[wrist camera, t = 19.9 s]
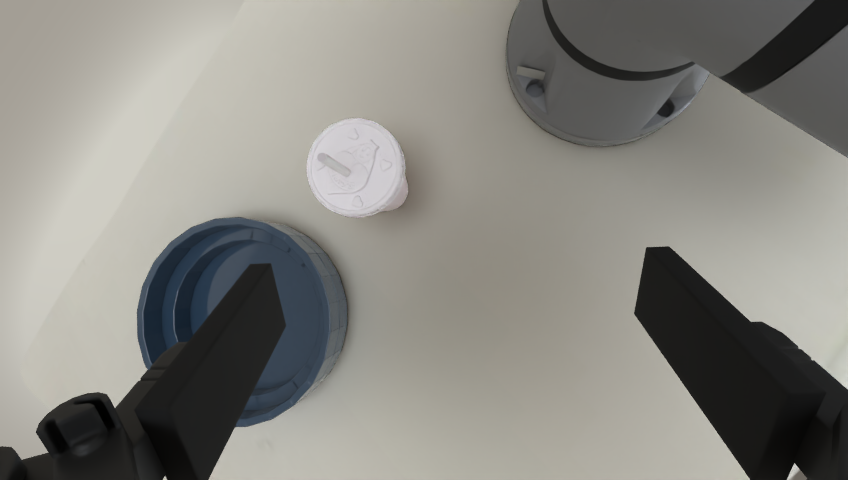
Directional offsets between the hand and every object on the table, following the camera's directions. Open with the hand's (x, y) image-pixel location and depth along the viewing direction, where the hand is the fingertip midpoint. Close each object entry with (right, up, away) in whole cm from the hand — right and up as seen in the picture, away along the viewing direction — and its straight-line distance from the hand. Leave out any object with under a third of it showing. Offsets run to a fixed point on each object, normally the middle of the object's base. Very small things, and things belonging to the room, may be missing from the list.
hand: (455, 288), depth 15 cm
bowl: (-16, -5, +23) cm, 28 cm away
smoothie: (-4, +6, +22) cm, 23 cm away
